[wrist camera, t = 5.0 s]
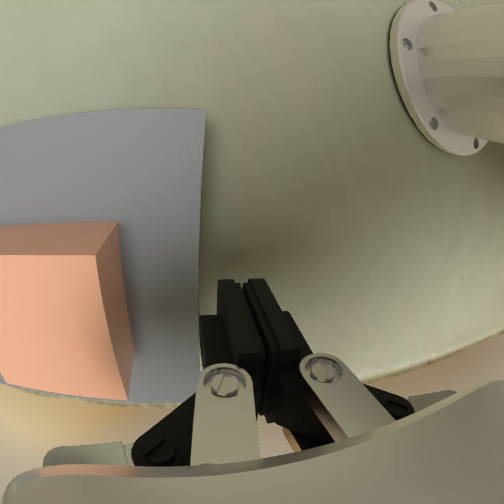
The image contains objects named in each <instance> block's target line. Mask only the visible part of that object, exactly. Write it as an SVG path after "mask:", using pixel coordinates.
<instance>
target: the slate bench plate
mask: <svg viewBox="0 0 504 504" xmlns="http://www.w3.org/2000/svg"><path fill="white" fill-rule="evenodd" d="M206 111H207V109H194V108H141V109H120V110H106V111H94V112H84V113H76V114H68V115H61V116H54V117H48V118H42V119H36V120H31V121H26V122H21V123H16V124H12V125H8V126H3V127H0V226H4V225H24V224H50V223H85V222H118V225H119V239H120V252H121V262H122V272H123V280H124V288H125V296H126V303H127V309H128V316H129V322H130V328H131V333H132V339H133V344H134V349H135V352H134V359H133V366H132V373H131V381H130V389H129V398H128V400H113V399H101V398H91V397H82V396H74V395H66V394H59V393H53V392H47V391H41V390H36V389H31V388H26V387H21V386H17V385H12V384H8V383H6V382H5V380H4V378H3V376H2V374H1V373H0V383H3V384H7V385H11V386H16V387H20V388H25V389H30V390H35V391H40V392H45V393H51V394H57V395H64V396H71V397H79V398H87V399H97V400H108V401H123V402H145V403H183V402H184V401H186V400H187V399H188V398H189V397H190V396H192V395H193V394H194V393H195V392H196V388H197V380H198V376H199V374H200V357H199V232H200V204H201V183H202V165H203V149H204V135H205V123H206Z"/></svg>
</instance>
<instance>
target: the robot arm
mask: <svg viewBox="0 0 504 504" xmlns="http://www.w3.org/2000/svg"><path fill="white" fill-rule="evenodd" d="M390 54H391V63H392V67H393V71H394V76H395V80H396V83H397V86H398V89H399V91H400V94H401V97H402V99H403V102H404V104H405V106H406V108H407V110H408V112H409V114H410V116H411V117H412V119H413V121H414V122H415V124H416V125H417V127H418V128H419V130H420V131H421V132H422V133H423V134H424V136H425V137H426V138H427V139H428V140H429V141H430V142H431V143H432V144H434V145H435V146H436V147H437V148H439V149H441V150H443V151H445V152H447V153H451V154H455V155H458V156H469V155H472V154H475V153H477V152H478V151H479V150H481V149H482V148H483V147H484V146H485V144H486V143H487V142H488V141H493V142H498V143H502V144H504V3H498V4H490V5H483V6H477V7H471V8H466V9H461V10H455V9H454V8H452V7H450V6H449V5H447V4H446V3H444V2H441V1H439V0H413V1H411V2H408V3H406V4H405V5H403V6H402V7H401V8H400V9H399V10H398V12H397V13H396V15H395V17H394V19H393V22H392V26H391V30H390ZM199 331H200V349H201V358H202V366H203V371H202V372H201V373H200V374H199V376H198V380H197V388H196V392H195V393H194V394H193V395H192V396H190V397H189V398H188V399H187V400H186V401H184V402H183V403H182V404H181V405H179V406H178V407H177V408H176V409H175V410H173V411H172V412H171V413H170V414H169V415H167V416H166V417H165V418H163V419H162V420H161V421H160V422H159V423H157V424H156V425H155V426H153V427H152V428H151V429H150V430H148V431H147V432H146V433H144V434H143V435H142V436H140V437H139V438H138V439H137V440H136V441H135V442H134V443H130V444H122V442H113V443H105V444H94V445H80V446H61V447H57V448H53V449H52V450H50V451H48V452H47V454H46V456H45V457H44V461H43V467H41V468H37V469H32V470H30V471H27V472H23V473H21V474H19V475H17V476H16V477H15V478H13V480H12V481H11V482H10V483H9V485H8V486H7V488H6V490H5V493H4V495H3V497H2V501H1V504H504V380H492V381H487V382H483V383H479V384H476V385H473V386H471V387H468V388H466V389H464V390H462V391H460V392H455V391H452V390H445V391H440V392H435V393H429V394H423V395H417V396H410V397H408V398H407V399H405V398H403V397H400V396H398V395H395V394H392V393H388V392H386V391H383V390H380V389H377V388H374V387H371V386H368V385H366V384H363V383H361V382H360V380H359V379H358V378H357V377H356V376H355V375H354V374H353V373H352V372H351V370H350V369H349V368H348V367H347V366H346V365H345V364H344V363H343V362H342V361H341V360H340V359H338V358H337V357H335V356H333V355H329V354H325V353H316V354H313V353H312V351H311V349H310V347H309V346H308V344H307V342H306V340H305V339H304V337H303V335H302V334H301V332H300V330H299V328H298V327H297V325H296V323H295V321H294V320H293V318H292V316H291V314H290V313H289V312H288V311H282V310H281V308H280V306H279V305H278V303H277V301H276V299H275V297H274V295H273V294H272V292H271V290H270V288H269V286H268V284H267V283H266V281H265V279H264V278H262V279H249V280H248V283H243V287H242V288H241V285H240V283H235V282H234V279H225V280H218V289H217V315H200V316H199ZM258 413H259V415H260V416H261V415H265V418H266V421H267V423H273V422H275V423H276V424H278V425H280V426H282V427H283V433H284V435H285V437H286V439H287V441H288V442H289V444H290V446H291V447H292V449H293V451H294V453H289V454H284V455H279V456H275V457H269V458H262V459H260V452H259V443H258V433H257V423H256V422H257V417H258Z"/></svg>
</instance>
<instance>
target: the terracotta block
mask: <svg viewBox="0 0 504 504" xmlns="http://www.w3.org/2000/svg"><path fill="white" fill-rule="evenodd" d="M134 352H135V349H134V344H133V339H132V333H131V328H130V322H129V316H128V309H127V303H126V296H125V288H124V280H123V272H122V262H121V252H120V239H119V225H118V222H85V223H50V224H24V225H4V226H0V373H1V374H2V376H3V378H4V380H5V382H6V383H8V384H12V385H17V386H21V387H26V388H31V389H36V390H41V391H47V392H53V393H59V394H66V395H74V396H82V397H91V398H101V399H113V400H128V398H129V389H130V381H131V373H132V366H133V359H134Z"/></svg>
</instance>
